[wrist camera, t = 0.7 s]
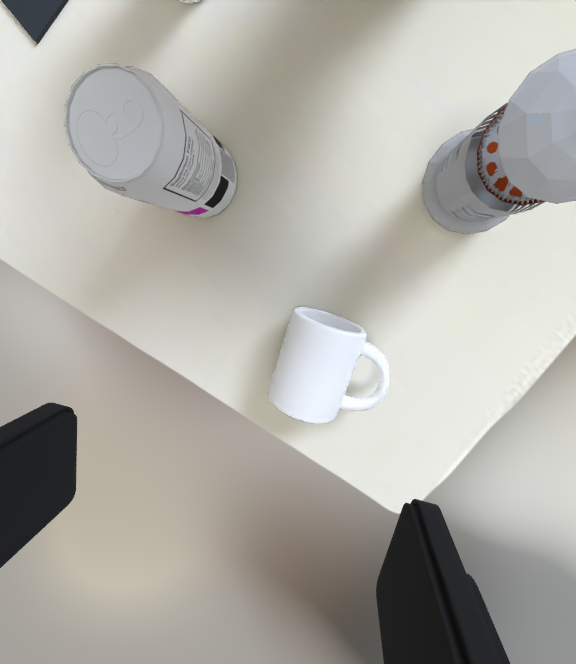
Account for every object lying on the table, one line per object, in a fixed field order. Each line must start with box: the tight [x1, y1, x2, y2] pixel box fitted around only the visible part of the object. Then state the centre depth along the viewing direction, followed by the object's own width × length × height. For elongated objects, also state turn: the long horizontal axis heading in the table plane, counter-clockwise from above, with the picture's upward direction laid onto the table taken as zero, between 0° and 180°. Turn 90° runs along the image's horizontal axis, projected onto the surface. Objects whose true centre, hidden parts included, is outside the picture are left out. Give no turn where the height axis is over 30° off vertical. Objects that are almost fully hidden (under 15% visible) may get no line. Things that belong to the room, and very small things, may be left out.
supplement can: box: [65, 64, 237, 218], centre depth 28 cm, size 8×8×15 cm
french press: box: [423, 49, 576, 234], centre depth 19 cm, size 10×12×25 cm
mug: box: [268, 307, 390, 424], centre depth 34 cm, size 12×10×8 cm
